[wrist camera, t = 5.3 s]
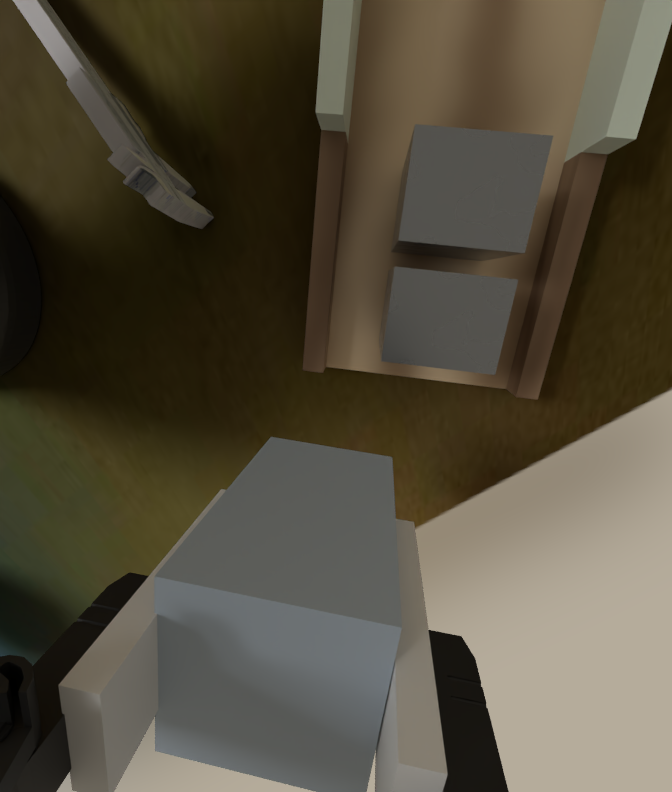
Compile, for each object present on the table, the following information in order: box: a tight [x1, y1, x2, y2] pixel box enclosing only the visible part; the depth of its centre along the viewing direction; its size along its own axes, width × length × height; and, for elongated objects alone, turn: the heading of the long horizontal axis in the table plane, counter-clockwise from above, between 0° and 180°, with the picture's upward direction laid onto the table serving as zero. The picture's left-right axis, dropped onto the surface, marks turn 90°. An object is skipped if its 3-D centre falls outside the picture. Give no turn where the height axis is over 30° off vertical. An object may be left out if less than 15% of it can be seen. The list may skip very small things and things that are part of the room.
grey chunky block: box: [391, 124, 553, 261], centre depth 17 cm, size 5×4×6 cm
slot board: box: [303, 0, 608, 400], centre depth 18 cm, size 13×24×2 cm, turn 174°
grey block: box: [154, 437, 402, 792], centre depth 12 cm, size 5×5×8 cm
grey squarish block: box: [379, 267, 518, 375], centre depth 18 cm, size 5×4×6 cm
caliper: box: [13, 0, 214, 229], centre depth 17 cm, size 20×1×6 cm, turn 37°
